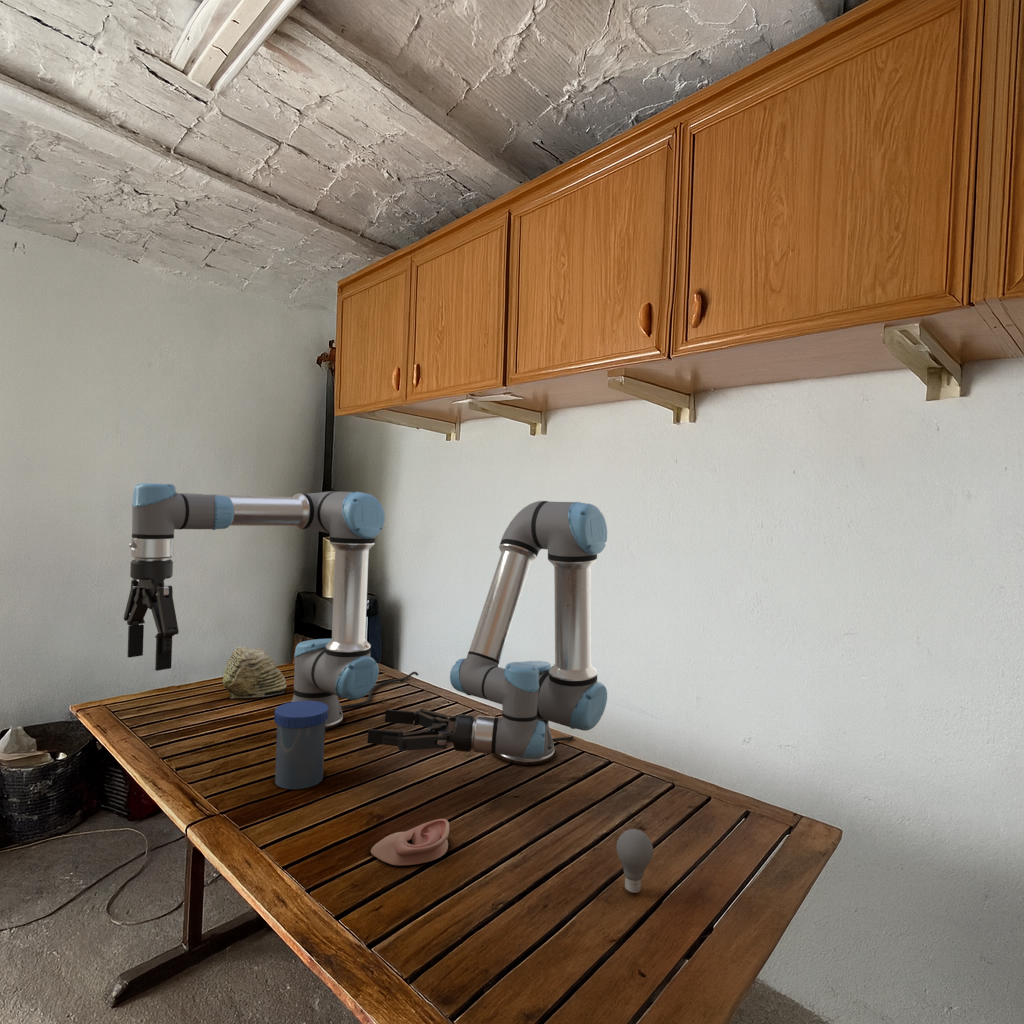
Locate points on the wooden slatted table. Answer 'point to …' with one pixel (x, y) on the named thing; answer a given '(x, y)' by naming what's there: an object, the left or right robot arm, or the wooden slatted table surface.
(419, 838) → the anatomical model
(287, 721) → the lid
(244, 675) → the fossil
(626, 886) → the light bulb
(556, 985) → the wooden slatted table surface
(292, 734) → the jar
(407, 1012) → the wooden slatted table surface
